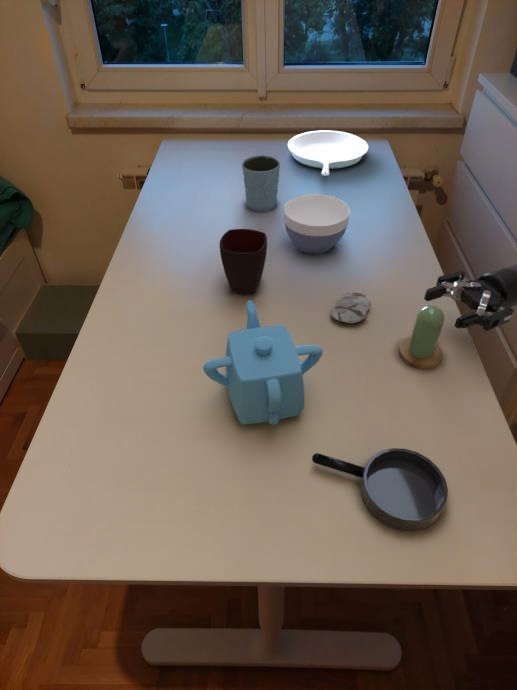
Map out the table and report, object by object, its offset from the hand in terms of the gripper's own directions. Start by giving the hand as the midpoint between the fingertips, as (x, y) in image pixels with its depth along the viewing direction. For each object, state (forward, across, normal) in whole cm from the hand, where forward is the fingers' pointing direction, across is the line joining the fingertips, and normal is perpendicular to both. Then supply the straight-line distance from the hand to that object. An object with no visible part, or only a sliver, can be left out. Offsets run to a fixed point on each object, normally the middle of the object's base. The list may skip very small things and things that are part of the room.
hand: (441, 309), depth 91 cm
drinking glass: (+5, -69, +11) cm, 70 cm away
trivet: (+2, 0, +10) cm, 11 cm away
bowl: (+1, -44, +11) cm, 45 cm away
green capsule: (+2, 0, +10) cm, 10 cm away
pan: (-26, -85, +11) cm, 89 cm away
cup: (+23, -36, +11) cm, 44 cm away
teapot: (+34, -4, +11) cm, 36 cm away
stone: (+8, -16, +11) cm, 21 cm away
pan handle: (+30, +16, +9) cm, 36 cm away
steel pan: (+23, +23, +10) cm, 35 cm away
